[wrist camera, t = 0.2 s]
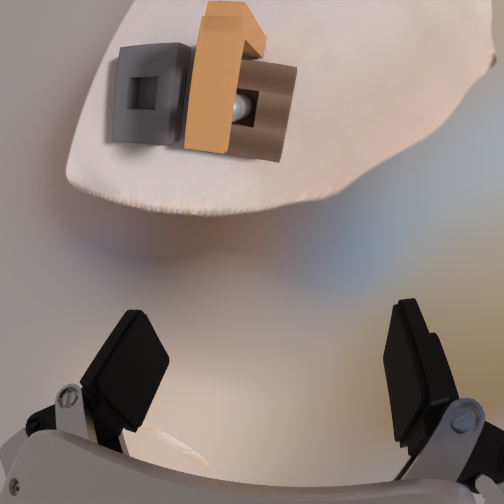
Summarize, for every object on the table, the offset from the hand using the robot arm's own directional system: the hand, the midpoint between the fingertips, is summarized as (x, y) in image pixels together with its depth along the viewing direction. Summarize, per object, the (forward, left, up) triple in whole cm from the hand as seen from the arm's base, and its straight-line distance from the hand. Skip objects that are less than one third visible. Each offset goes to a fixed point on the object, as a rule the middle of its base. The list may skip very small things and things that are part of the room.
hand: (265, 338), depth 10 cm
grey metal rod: (-6, -8, -30) cm, 31 cm away
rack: (-7, -21, -31) cm, 37 cm away
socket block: (-6, -8, -31) cm, 32 cm away
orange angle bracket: (-9, -8, -30) cm, 32 cm away
